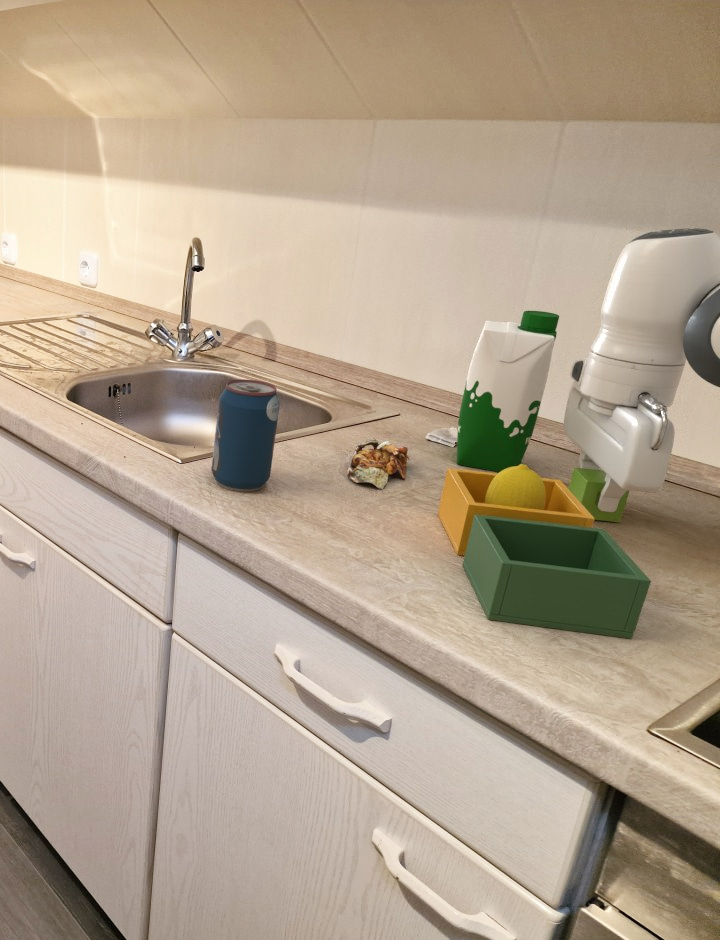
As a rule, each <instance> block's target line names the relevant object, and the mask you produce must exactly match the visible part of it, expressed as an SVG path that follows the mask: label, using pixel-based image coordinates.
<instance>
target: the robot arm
mask: <svg viewBox="0 0 720 940" xmlns="http://www.w3.org/2000/svg"><path fill="white" fill-rule="evenodd" d="M686 362H687V363H688V365H689V366H690V368H691V369H692V371H694V373H695V374H696V375H697V376H699V377H700V378H701V379H702V380H704V381H705V382H707V383H708V384H711V385H712V386H715V387H717V388H720V236H719V235H718V234H717V233H716V232H715V231H714V230H710V229H708V228H700V227H699V228H698V227H697V228H696V227H694V228H675V229H673V228H672V229H665V230H663V229H662V230H658V231H650V232H646V233H643V234H641V235H638V236H636V237H635V238H633V239H632V240H630V241H629V242H628V243H626V244H625V246H624V247H623V248H622V250H621V251H620V253H619V256H618V257H617V260H616V262H615V265H614V268H613V270H612V272H611V275H610V278H609V281H608V284H607V286H606V290H605V293H604V297H603V300H602V304H601V308H600V327H599V332H598V333H597V335H596V337H595V339H594V340H593V342H592V343H591V346H590V349H589V352H588V356H587V357H584V358H579V359H575V360H574V361H573V362H572V365H571V368H570V373H569V376H570V378H571V379H572V380H573V382H572V383H571V385H570V388H569V392H568V397H567V400H566V406H565V411H564V417H563V433H564V435H565V436H566V437H567V438H568V439H569V440H570V441H571V442H573V444H574V445H576V446H577V447H578V448H579V449H580V452H579V468H583V469H593V470H603V471H604V472H605V473H606V477H605V482H606V484H605V486H604V488H603V490H602V492H598V494H597V497H596V501H595V505H596V506H597V507H598V508H599V509H600V510H601V511H605V512H614V511H616V509H617V507H618V503H619V500H620V498H621V497H622V496H623V495H624V494H625V492H626V491H627V490H630V491H631V492H637V493H638V492H639V493H650V494H651V493H652V494H655V493H657V492H658V491H659V490H660V489H661V488H662V487H663V485H664V483H665V480H666V477H667V473H668V469H669V465H670V461H671V456H672V451H673V448H674V442H675V426H674V423H673V421H671V420H670V419H669V418H668V413H667V412H668V408H669V407H671V406H673V404H674V401H675V397H676V394H677V391H678V388H679V384H680V382H681V378H682V375H683V372H684V368H685V366H686ZM630 491H629V492H630Z"/></svg>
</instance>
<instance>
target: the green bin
mask: <svg viewBox="0 0 720 940" xmlns="http://www.w3.org/2000/svg"><path fill="white" fill-rule="evenodd" d="M616 541H617V540H615V539H614V538H613V537H612V536H611V535H610V533H609V532H608V531H607V530H606V529H605V528H600V527H599V528H598V527H592V528H590V527H582V526H573V525H564V524H555V523H547V522H538V521H529V520H521V519H512V518H503V517H494V516H486V515H477V514H475V515H474V519H473V523H472V527H471V531H470V535H469V540H468V544H467V548H466V552H465V556H464V557H463V561H462V565H461V566H462V568H463V570H464V572H465V574H466V576H467V578H468V580H469V582H470V585H471V587H472V589H473V591H474V593H475V595H476V597H477V599H478V602H479V604H480V606H481V608H482V610H483V613H484V614H485V616H486V618H487V620H489V621H495V622H504V623H511V624H519V625H527V626H534V627H539V628H541V627H542V628H549V629H554V630H555V629H556V630H562V631H563V630H564V631H570V632H579V633H587V634H593V635H599V636H600V635H601V636H608V637H616V638H623V639H630V640H631V639H632V638H633V637H634V633H635V631H636V627H637V624H638V621H639V619H640V616H641V613H642V610H643V608H644V603H645V601H646V598H647V595H648V592H649V589H650V585H651V583H652V580H651V579H650V578H649V577H648V575H646V574H645V572H644V571H643V570H642V568H640V567H639V566H638V565H637V563H636V562H635V561H634V560H633V559H632V558H631V556H630V555H628V553H626V551H625V550H624V549H623V548H622V547H621V546H620V545H619V544H618V543H617V542H616Z"/></svg>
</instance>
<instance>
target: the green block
mask: <svg viewBox="0 0 720 940" xmlns="http://www.w3.org/2000/svg"><path fill="white" fill-rule="evenodd" d="M605 477H606V473H605V472H604V471H603V470H602V469H600V470H593V469H583V468H580V467H573V470H572V474H571V477H570V481H569V484H568V487H567V488H568V489H569V490H570V491H571V493H572V494H573V495H574V496H575V497H576V498H577V499H578V500H579V502H580V503H581V504H582V505H583V506H584V507H585V508H586V509H587V510H588V512H589V513H590V514H591V515H592V516H593V517H594V518H595V520H594V521H602V522H610V523H611V522H613V523H621V520H622V518H623V517H622V516H623V513H624V510H625V507H626V504H627V502H628V501H627V500H628V497H629V494H630V490H627V491H626V492H625V494H624V495H623V496H622V497H621V498H620V500H619V503H618V507H617V509H616V511H614V512H605V511H601V510H600V509H599V508H598V507H597V506H596V505H595V501H596V497H597V494H598V492H602V490H603V488H604V486H605V484H606V482H605Z"/></svg>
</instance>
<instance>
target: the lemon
mask: <svg viewBox="0 0 720 940" xmlns="http://www.w3.org/2000/svg"><path fill="white" fill-rule="evenodd" d="M497 473H498V474H497V475H496V476H495V477H494V478H493V480H492V482H491V483H490V485H489V488H488V490H487V493H486V497H485V504H494V505H502V506H511V507H520V508H529V509H538V510H544V506H545V500H546V491H545V486H544V483H543V480H542V479H541V478H542V477H541V476H540V475H539V474H538V473H537V472H536V471H535V470H533V469H531V468H529V465H527V464H525V463H521V464H520V465H519V466H514V467H509V468H506V469H504V470H502V471H501V472H497Z"/></svg>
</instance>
